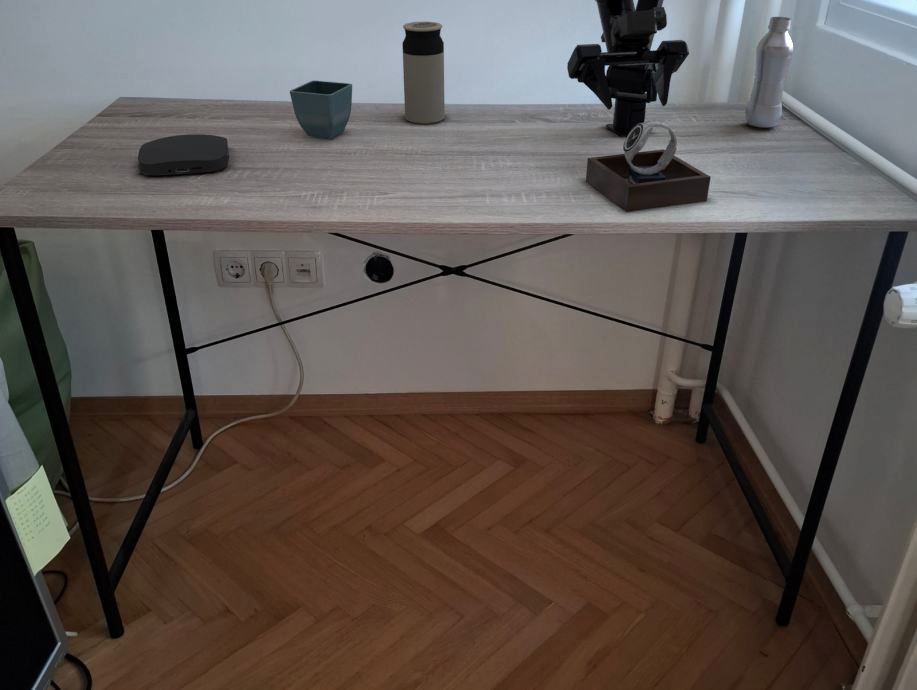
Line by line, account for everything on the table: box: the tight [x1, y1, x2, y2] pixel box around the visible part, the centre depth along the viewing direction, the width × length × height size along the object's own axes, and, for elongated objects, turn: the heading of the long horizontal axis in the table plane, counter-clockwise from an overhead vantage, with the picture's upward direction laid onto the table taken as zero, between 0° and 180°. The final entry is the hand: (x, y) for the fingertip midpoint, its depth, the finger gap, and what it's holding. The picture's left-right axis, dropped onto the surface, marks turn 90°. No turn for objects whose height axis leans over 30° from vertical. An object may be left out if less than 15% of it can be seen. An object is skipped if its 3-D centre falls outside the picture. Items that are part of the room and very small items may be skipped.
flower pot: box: [289, 80, 353, 140], centre depth 156 cm, size 9×9×9 cm
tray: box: [585, 149, 712, 213], centre depth 132 cm, size 14×14×4 cm
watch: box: [622, 120, 678, 184], centre depth 130 cm, size 6×8×11 cm
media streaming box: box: [137, 133, 230, 176], centre depth 144 cm, size 15×15×3 cm
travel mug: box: [402, 21, 446, 125], centre depth 163 cm, size 8×8×18 cm
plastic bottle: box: [745, 16, 794, 129], centre depth 157 cm, size 6×7×20 cm
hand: (637, 106), depth 131 cm, fingers open, 9 cm apart
